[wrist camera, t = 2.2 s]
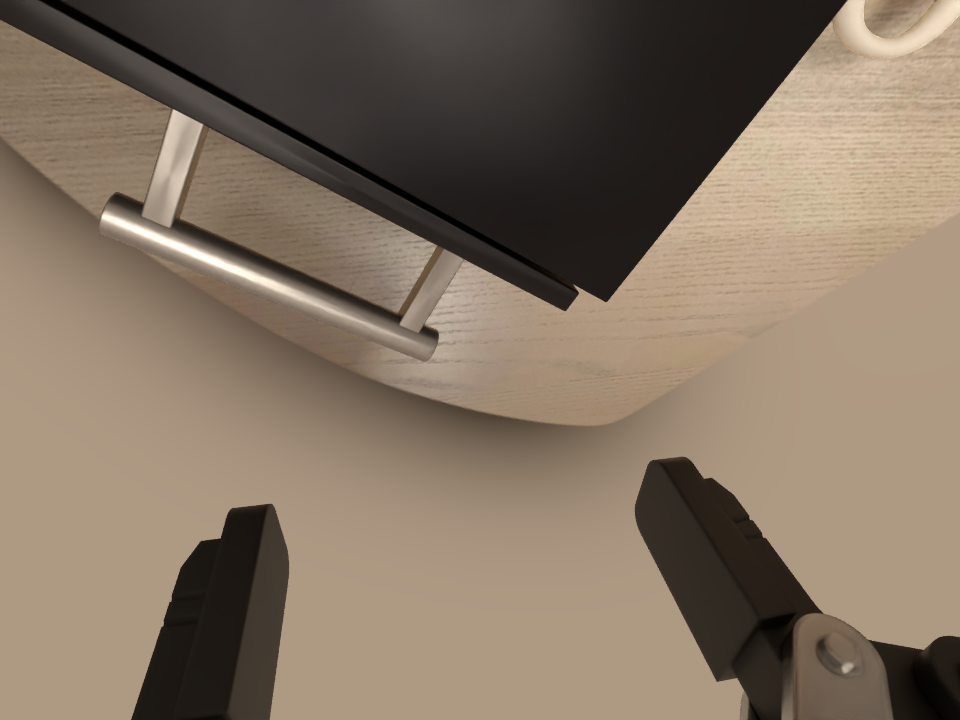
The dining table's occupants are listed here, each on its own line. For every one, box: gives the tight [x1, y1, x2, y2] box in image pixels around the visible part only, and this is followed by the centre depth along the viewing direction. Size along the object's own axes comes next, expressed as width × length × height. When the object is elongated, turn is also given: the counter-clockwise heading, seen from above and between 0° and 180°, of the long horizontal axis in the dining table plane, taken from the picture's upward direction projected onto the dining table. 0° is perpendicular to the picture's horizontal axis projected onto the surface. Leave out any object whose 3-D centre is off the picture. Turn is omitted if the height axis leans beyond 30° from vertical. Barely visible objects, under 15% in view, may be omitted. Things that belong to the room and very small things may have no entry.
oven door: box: [0, 0, 579, 362], centre depth 23 cm, size 20×7×12 cm, turn 57°
